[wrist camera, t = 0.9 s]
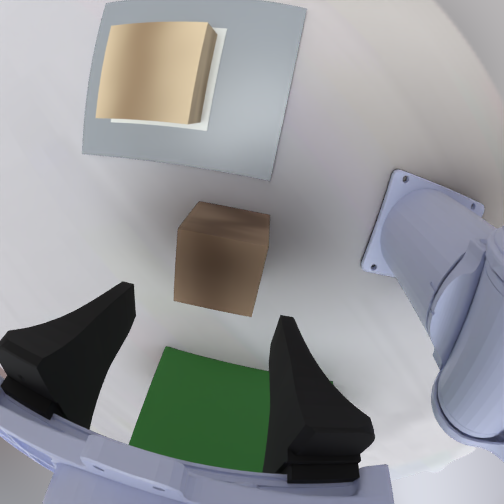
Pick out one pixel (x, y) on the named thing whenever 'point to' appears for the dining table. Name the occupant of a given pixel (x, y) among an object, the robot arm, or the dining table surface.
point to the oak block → (156, 71)
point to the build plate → (209, 87)
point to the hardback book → (206, 412)
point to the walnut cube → (221, 258)
